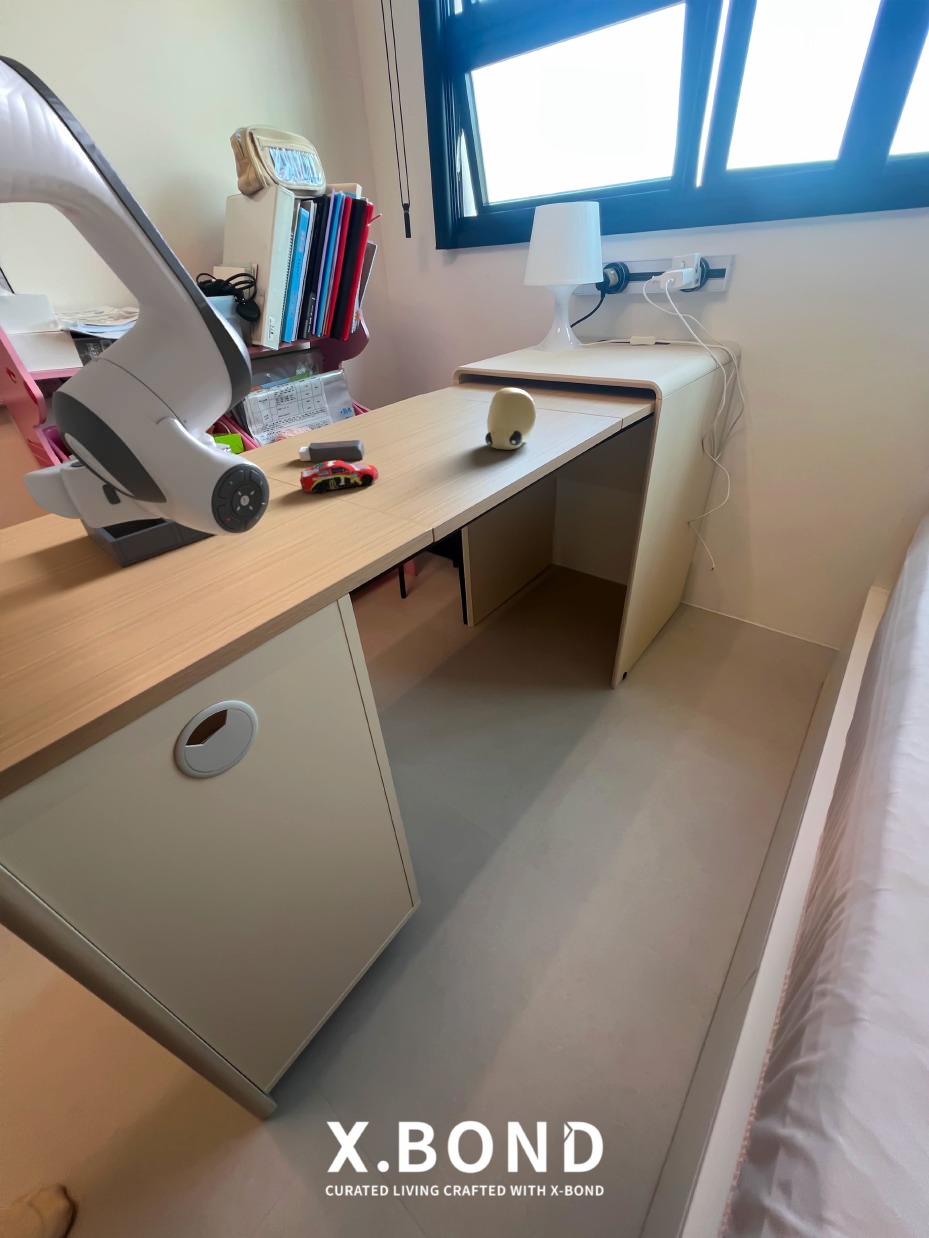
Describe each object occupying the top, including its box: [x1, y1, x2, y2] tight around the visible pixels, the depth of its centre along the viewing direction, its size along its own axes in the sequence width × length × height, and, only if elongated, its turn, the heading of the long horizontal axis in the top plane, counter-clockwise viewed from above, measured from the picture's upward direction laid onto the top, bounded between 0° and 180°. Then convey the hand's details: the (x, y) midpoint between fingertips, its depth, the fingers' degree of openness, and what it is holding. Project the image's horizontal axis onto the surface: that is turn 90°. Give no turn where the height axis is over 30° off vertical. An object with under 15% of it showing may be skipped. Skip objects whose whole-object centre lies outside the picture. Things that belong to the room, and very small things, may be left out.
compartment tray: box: [79, 517, 216, 568], centre depth 74 cm, size 15×15×4 cm
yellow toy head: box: [484, 387, 537, 451], centre depth 99 cm, size 10×12×11 cm
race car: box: [299, 460, 379, 494], centre depth 86 cm, size 13×5×4 cm, turn 109°
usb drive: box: [298, 439, 365, 464], centre depth 99 cm, size 5×12×3 cm, turn 95°
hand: (101, 458), depth 64 cm, fingers closed on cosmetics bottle, 6 cm apart
